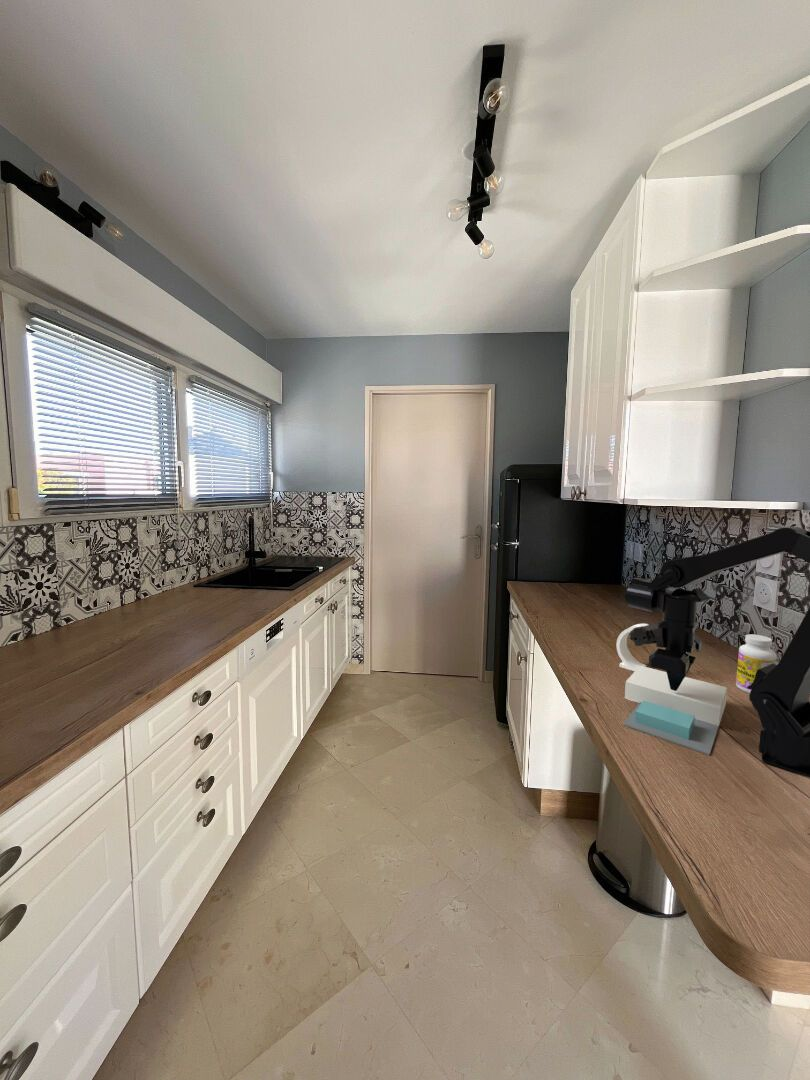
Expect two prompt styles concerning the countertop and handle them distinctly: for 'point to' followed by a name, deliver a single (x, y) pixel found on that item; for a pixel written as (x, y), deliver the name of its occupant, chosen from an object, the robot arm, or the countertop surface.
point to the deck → (678, 694)
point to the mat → (698, 739)
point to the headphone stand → (623, 651)
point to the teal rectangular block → (665, 719)
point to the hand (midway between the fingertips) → (673, 689)
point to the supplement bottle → (753, 659)
